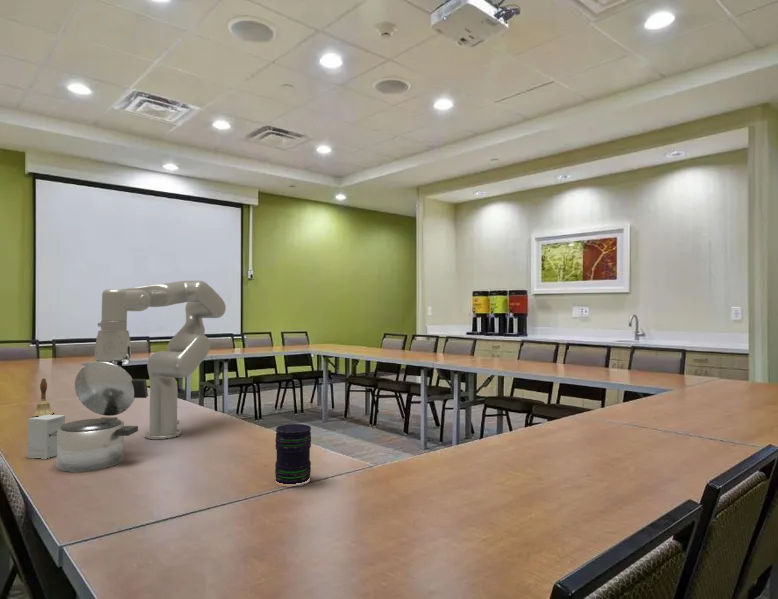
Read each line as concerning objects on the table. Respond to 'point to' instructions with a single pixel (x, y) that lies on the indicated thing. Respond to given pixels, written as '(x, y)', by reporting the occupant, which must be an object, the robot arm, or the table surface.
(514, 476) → the table surface
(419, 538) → the table surface
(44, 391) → the hand bell
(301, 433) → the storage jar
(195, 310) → the robot arm
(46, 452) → the supplement box
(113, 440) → the cooker pot
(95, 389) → the cooker lid
